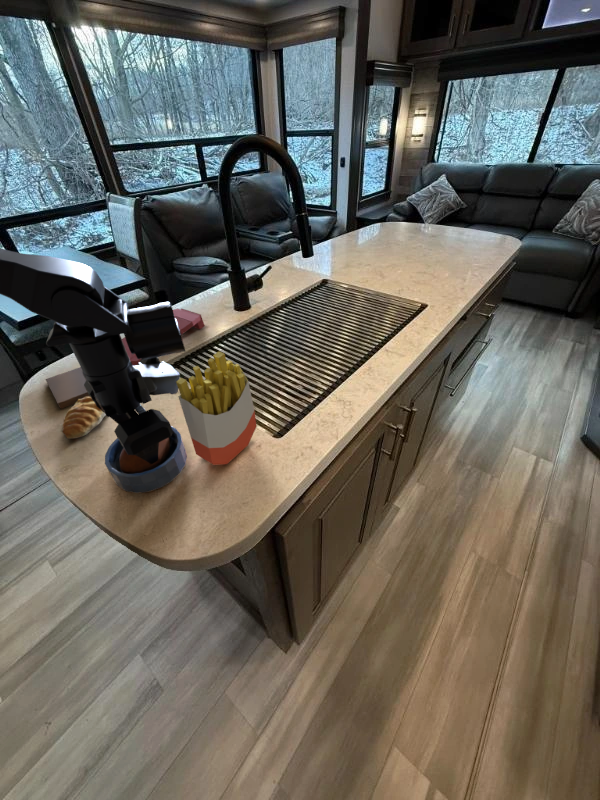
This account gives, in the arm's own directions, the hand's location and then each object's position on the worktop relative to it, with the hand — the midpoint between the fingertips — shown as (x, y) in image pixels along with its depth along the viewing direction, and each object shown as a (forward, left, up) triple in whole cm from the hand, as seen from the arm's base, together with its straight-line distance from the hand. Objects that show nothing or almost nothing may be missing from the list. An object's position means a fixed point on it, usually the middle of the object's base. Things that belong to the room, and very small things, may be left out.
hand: (142, 445), depth 54 cm
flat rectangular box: (-2, +34, -5) cm, 34 cm away
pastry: (-5, +20, -5) cm, 21 cm away
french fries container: (+12, -6, -5) cm, 14 cm away
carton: (+20, +42, -5) cm, 47 cm away
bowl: (0, 0, -5) cm, 5 cm away
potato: (0, 0, -5) cm, 5 cm away
